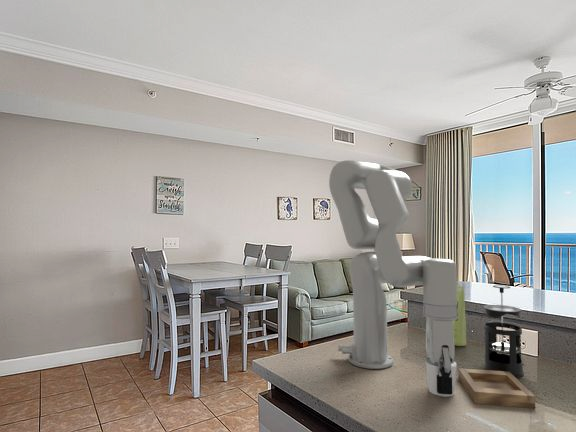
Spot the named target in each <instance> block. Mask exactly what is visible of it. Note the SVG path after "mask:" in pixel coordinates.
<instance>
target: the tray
mask: <svg viewBox="0 0 576 432" xmlns="http://www.w3.org/2000/svg"><path fill="white" fill-rule="evenodd" d="M458 379H459V381H460V383H461V384H462V386H463V388H465V390H466V391H467V393H468V395H469V396H470V398H471V400H472V401H473V403H474V404H478V405H479V404H480V405H493V406H504V407H518V408H529V409H536V396H535V395H534V393H532V392H531V391H530V390H529V388H527V387H526V386H525V385H524V384H523V383H522V382H521V381H520V380H519V379H518V377H517V378H516V377H515V376H514V375H512V374H511V373H510V372H508V371H492V370H485V369H473V368H458Z"/></svg>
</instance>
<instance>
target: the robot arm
mask: <svg viewBox="0 0 576 432" xmlns="http://www.w3.org/2000/svg"><path fill="white" fill-rule="evenodd" d="M328 183H329V184H328V185H329V191H330V195H331V197H332V200H333V202H334V204H335V206H336V209H337V212H338V214H339V215H338V216H339V219H340V222H341V227H342V230H343V233H344V236H345V240H346V242H347V243H346V244H348V246H349V247H350V248H352V249H353V250H373V251H365V252H364V251H363V252H361V253H357V254H356V255H355V256H353V257H352V258H351V260H350V263H349V266H348V267H349V269H348V270H349V276H350V280H351V281H350V282H351V286H352V298H353V299H352V302H353V305H352V306H353V309H352V310H353V313H352V314H353V341H352V344H351V343H350V344H349V345H345V344H338V352H341V353H342V355H343V354H344V355H345V354H348V362H349V363H351V364H352V365H354V366H356V367H359V368H362V369H363V368H364V369H369V370H370V369H371V370H372V369H374V370H378V369H379V370H381V369H387V368H390V367H391V366H392V365H393V364H394V359H393V356H391V355H390V354H388V308H387V304H388V301H387V296H386V293H385V292H384V290H383V287H382V285H383V284H389V285H390V286H392V287H394V288H406V287H413V286H422V294H423V295H422V299H423V300H422V302H423V305H422V306H423V307H422V308H423V312H422V314H423V317H424V318H425V319H426V325H425V351H426V354H427V356H428V358H430V360H431V361H432V362H433V363H435V362H437V366H438V375H437V392H438V393H439V394H449V395H451V394H452V371H451V364H453V363H454V361H455V357H456V355H455V354H456V351H455V350H456V349H455V347H456V345H454V327H453V320H456V319H457V286H458V280H457V279H458V276H457V264H456V262H455V261H454V260H452V259H449V258H437V257H436V258H434V257H433V258H431V257H428V256H424V255H407V256H406V255H405V256H403V253H402V249H401V246H400V243H399V241H398V240H399V239H398V237H397V232H398V230H399V228H401V227H403V226H404V225H406V223H408V221H409V220H410V213H409V210H408V208H407V205H406V203H405V201H404V200H406V199H407V198H408V197H409V196H410V195H411V193H412V190H413V184H412V180H411V178H410V177H409V175H408V174H406V173H405V172H403V171H400V170H397V169H394V168H391V167H389V166H387V165H383V164H379V163H377V162H376V163H375V162H367V161H359V160H349V159H348V160H341V161H339V162H337V163H336V164H335V165H334V166H333V167H332V169H331V171H330V174H329V181H328ZM355 189H359V190H365V191H366V194H367V196H368V200H369V201H370V202H369V203H370V205H371V209H372V210H373V213H374V216H375V218H372V217H371V216H370V215H369V213H368V210H367V206H366V204H365V202H364V200H363V198H362V197H361V196H360V195H359V194H358V192H357V191H356V190H355ZM439 359H443V361H444V362H440V360H439ZM441 365H444V367H442V368H441Z"/></svg>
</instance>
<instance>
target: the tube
mask: <svg viewBox="0 0 576 432" xmlns="http://www.w3.org/2000/svg"><path fill="white" fill-rule="evenodd" d="M465 301H466V300H465V287H464V286H461V285H457V319H456V320H453V327H454V346H455V347H456V346H457V347H465V346H467V323H466V305H465Z"/></svg>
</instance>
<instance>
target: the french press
mask: <svg viewBox="0 0 576 432" xmlns="http://www.w3.org/2000/svg"><path fill="white" fill-rule="evenodd" d="M492 287H493V288H495V289H496V288H497V289H499V293H500V304H487V305H484V306H483V309H484V311H485V316H487V317H489V318H493V319H499V318H501V321H490V320H489V321H488V320H487V321H486V322H484V323H483V330H484V364H483V370H492V371H508V372H510V373H511V374H512V375H514V376H515V377H516V378H517V379H518V378H521V377H523V376H524V375H525V372H524V369H523V368H524V365H523V364H524V363H523V359H522V346H521V345H522V343H521V342H522V340H521V338H522V337H521V335H522V334H523V327H521V326H519V325H517V324H515V323H514V324H513V323H509V322H508V323H507V322H504V316H505V315H511V316H515V317H518V318H521V317H520V316H521V315H520V313H522V309H521V308H520V307H515V306H511V305H504V303H503V300H504V299H503V294H505V293H504V291H505V290H504V289H511V286H509V285H505V284H494V285H493V286H492ZM497 328H498V329H497ZM499 328H501V329H499ZM504 328H505V329H506V330H505V329H504ZM507 329H511V330H507ZM497 335H499V336H501V341H500V342H499V341H498V338H497ZM504 336H506V337H507V336H508V341H509V343H507V342H504Z"/></svg>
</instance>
